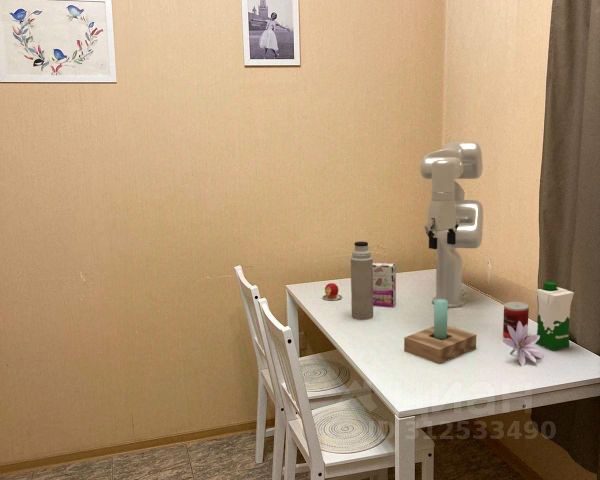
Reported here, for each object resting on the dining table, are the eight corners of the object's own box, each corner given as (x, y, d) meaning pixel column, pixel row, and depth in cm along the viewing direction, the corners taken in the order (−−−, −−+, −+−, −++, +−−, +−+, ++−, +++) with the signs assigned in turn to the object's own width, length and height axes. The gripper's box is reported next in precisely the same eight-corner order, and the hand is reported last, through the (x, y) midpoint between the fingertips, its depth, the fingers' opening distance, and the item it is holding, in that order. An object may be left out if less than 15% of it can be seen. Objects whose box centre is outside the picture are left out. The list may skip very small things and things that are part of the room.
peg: (439, 346, 200) (440, 298, 197) (449, 349, 197) (450, 301, 193) (431, 349, 197) (431, 300, 194) (441, 352, 194) (442, 303, 191)
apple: (342, 300, 250) (342, 285, 249) (322, 301, 250) (322, 285, 249) (341, 295, 258) (341, 279, 257) (322, 295, 258) (321, 280, 257)
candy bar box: (396, 303, 244) (396, 263, 240) (393, 307, 239) (393, 266, 236) (368, 301, 248) (368, 261, 245) (365, 305, 244) (364, 264, 240)
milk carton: (552, 338, 203) (555, 279, 199) (574, 347, 195) (577, 286, 191) (531, 343, 200) (534, 283, 195) (552, 352, 191) (556, 290, 187)
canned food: (527, 334, 208) (528, 302, 205) (527, 342, 200) (529, 309, 198) (503, 332, 210) (504, 300, 208) (502, 340, 203) (503, 308, 201)
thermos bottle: (374, 313, 234) (373, 240, 228) (372, 320, 226) (371, 244, 220) (352, 312, 235) (351, 239, 230) (350, 319, 228) (349, 244, 222)
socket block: (440, 336, 208) (440, 323, 207) (476, 348, 197) (476, 334, 196) (404, 350, 197) (404, 337, 196) (439, 363, 186) (439, 349, 185)
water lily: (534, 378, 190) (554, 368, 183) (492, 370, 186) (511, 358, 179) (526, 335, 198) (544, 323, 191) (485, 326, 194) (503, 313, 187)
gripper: (450, 192, 217) (449, 240, 221) (417, 198, 207) (416, 248, 210) (468, 194, 212) (466, 243, 215) (435, 200, 201) (434, 252, 205)
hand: (442, 246), depth 213 cm, fingers open, 9 cm apart
